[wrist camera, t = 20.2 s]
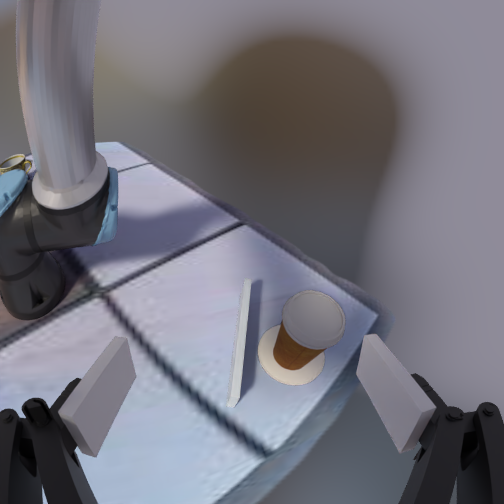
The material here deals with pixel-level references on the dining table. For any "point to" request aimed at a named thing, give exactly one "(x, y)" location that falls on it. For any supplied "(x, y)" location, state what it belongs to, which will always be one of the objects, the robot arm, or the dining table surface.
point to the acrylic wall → (239, 346)
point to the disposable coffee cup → (307, 328)
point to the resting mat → (282, 374)
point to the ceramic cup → (14, 163)
